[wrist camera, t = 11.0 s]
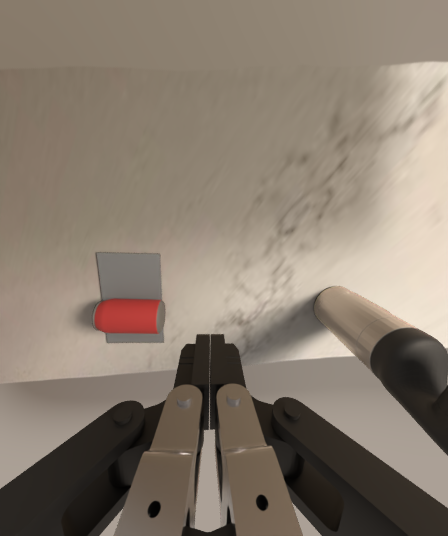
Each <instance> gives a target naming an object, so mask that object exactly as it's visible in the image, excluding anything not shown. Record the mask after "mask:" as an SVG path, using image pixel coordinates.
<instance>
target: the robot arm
mask: <svg viewBox="0 0 448 536" xmlns="http://www.w3.org/2000/svg"><path fill="white" fill-rule="evenodd" d="M314 312H315V315H316V317H317V318H318V319H319V320H320V321H321V322H322V323H323V324H324V325H325V326H326V327H327V328H328V329H329V330H330V331H331V332H332V333H333V334H334V335H335V336H336V337H337V338H338V339H339V340H340V341H341V342H342V343H343V344H344V345H345V346H346V347H347V348H348V349H349V350H350V351H351V352H352V353H353V354H354V355H355V356H356V357H358V359H359V360H360V361H362V363H363V364H364V365H366V367H367V368H368V369H370V370H371V371H372V372H373V373H374V374H375V376H376V377H377V378H379V379H380V381H381V382H382V384H383V385H384V387H385V388H386V389H387V390H388V392H389V393H390V394H391V395H392V396H393V397H394V398H395V399H396V400H397V401H398V402H399V403H400V404H401V405H402V406H403V407H404V408H405V410H407V412H408V413H409V414H410V415H411V416H412V417H413V418H414V419H415V421H416V422H417V423H418V424H419V425H420V426H421V427H422V428H423V429H424V431H425V432H426V433H427V434H428V435H429V436H430V437H431V438H432V439H433V441H434V442H435V443H436V444H437V445H438V446H439V447H440V448H441V449H442V450H443V451H444V452H445V453H446V454H447V455H448V386H447V375H448V354H447V351H446V349H445V348H444V346H443V345H442V344H441V343H440V342H439V341H438V340H437V339H435V338H433V337H432V336H430V335H428V334H427V333H425V332H423V331H421V330H419V329H418V328H416V327H414V326H412V325H410V324H409V323H407V322H405V321H403V320H401V319H400V318H398V317H396V316H394V315H392V314H391V313H390V312H389V311H387V310H385V309H383V308H382V307H380V306H378V305H376V304H374V303H373V302H371V301H369V300H367V299H365V298H364V297H362V296H360V295H358V294H356V293H353V292H352V291H350V290H348V289H346V288H344V287H340V286H335V287H330V288H328V289H326V290H324V291H323V292H322V293H321V294H320V295H319V296H318V297H317V299H316V301H315V304H314ZM209 368H210V429H215V457H216V469H217V478H218V491H219V502H220V516H221V528H219V529H216V530H214V531H212V532H204V531H201V530H197V529H194V525H195V512H196V501H197V493H198V483H199V473H200V463H201V454H202V446H203V441H204V430H208V429H209ZM292 503H293V504H294V505H295V506H296V507H297V508H298V509H299V510H300V512H301V513H302V514H303V515H304V516H305V517H306V518H307V519H308V521H309V522H310V523H311V524H312V525H313V526H314V527H315V528H316V529H317V531H318V532H319V533H320V534H321V535H322V536H448V508H447V507H445V506H444V505H443V504H441V503H440V502H438V501H437V500H436V499H434V498H433V497H431V496H430V495H429V494H427V493H426V492H424V491H423V490H422V489H420V488H419V487H418V486H416V485H415V484H413V483H412V482H411V481H409V480H408V479H406V478H405V477H404V476H402V475H401V474H400V473H398V472H397V471H395V470H394V469H393V468H391V467H390V466H389V465H387V464H386V463H384V462H383V461H382V460H380V459H379V458H377V457H376V456H375V455H373V454H372V453H370V452H369V451H368V450H366V449H365V448H363V447H362V446H361V445H359V444H358V443H357V442H355V441H353V440H352V439H351V438H350V437H348V436H347V435H345V434H344V433H343V432H341V431H340V430H339V429H337V428H336V427H334V426H333V425H332V424H330V423H329V422H327V421H326V420H325V419H323V418H322V417H321V416H319V415H318V414H316V413H315V412H314V411H312V410H311V409H309V408H308V407H307V406H305V405H304V404H303V403H301V402H299V401H298V400H296V399H293V398H289V397H283V398H279V399H278V400H276V401H275V402H274V404H273V405H272V404H268V403H264V402H261V401H258V400H256V399H255V398H254V397H252V396H251V395H250V393H249V391H248V390H247V389H246V385H245V380H244V376H243V370H242V365H241V360H240V356H239V351H238V349H237V347H236V346H235V345H234V344H225V341H224V334H211V350H210V334H197V336H196V344H186V345H185V347H184V348H183V349H182V350H181V355H180V360H179V365H178V369H177V374H176V379H175V384H174V388H173V390H172V391H171V392H170V393H169V394H168V396H167V399H166V400H165V401H163V402H161V403H160V404H158V405H155V406H151V407H149V408H145V409H144V408H143V406H142V405H141V404H140V403H139V402H137V401H125V402H121V403H119V404H117V405H115V406H114V407H112V408H111V409H110V410H108V411H107V412H105V413H104V414H103V415H101V416H100V417H99V418H97V419H96V420H94V421H93V422H92V423H90V424H89V425H88V426H86V427H85V428H83V429H82V430H81V431H79V432H78V433H77V434H75V435H74V436H72V437H71V438H70V439H68V440H67V441H66V442H64V443H63V444H61V445H60V446H59V447H57V448H56V449H55V450H53V451H52V452H51V453H49V454H48V455H46V456H45V457H44V458H42V459H41V460H40V461H38V462H37V463H35V464H34V465H33V466H31V467H30V468H28V469H27V470H26V471H24V472H23V473H22V474H20V475H19V476H17V477H16V478H15V479H13V480H12V481H11V482H9V483H8V484H7V485H5V486H4V487H2V488H1V489H0V536H99V535H100V534H101V533H102V532H103V531H104V529H105V528H106V527H107V526H108V525H109V524H110V523H111V521H112V520H113V519H114V518H115V516H117V514H118V513H119V512H120V511H121V510H122V509H123V511H122V514H121V516H120V519H119V522H118V525H117V528H116V531H115V534H114V536H303V534H302V531H301V528H300V525H299V522H298V519H297V517H296V513H295V510H294V507H293V505H292ZM123 507H124V508H123Z"/></svg>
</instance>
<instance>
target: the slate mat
mask: <svg viewBox="0 0 448 536" xmlns="http://www.w3.org/2000/svg"><path fill="white" fill-rule="evenodd" d="M97 260H98V268H99V276H100V285H101V293H102V301H105V300H109V299H153V300H162V288H161V266H160V254H150V253H101V252H97ZM106 334H107V342H108V343H164V333H163V329H162V331H161V332H160V333H159V334H129V333H106Z"/></svg>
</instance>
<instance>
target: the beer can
mask: <svg viewBox="0 0 448 536" xmlns="http://www.w3.org/2000/svg"><path fill="white" fill-rule="evenodd" d="M164 322H165V304H164V302H163V301H162V300H153V299H109V300H105V301H100V302H99V303H97V305H96V306H95V308H94V311H93V315H92V324H93V327H94V328H95V330H100V331H102V332H106V333H129V334H159V333H160V332H161V331H162V329H163V327H164Z"/></svg>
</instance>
